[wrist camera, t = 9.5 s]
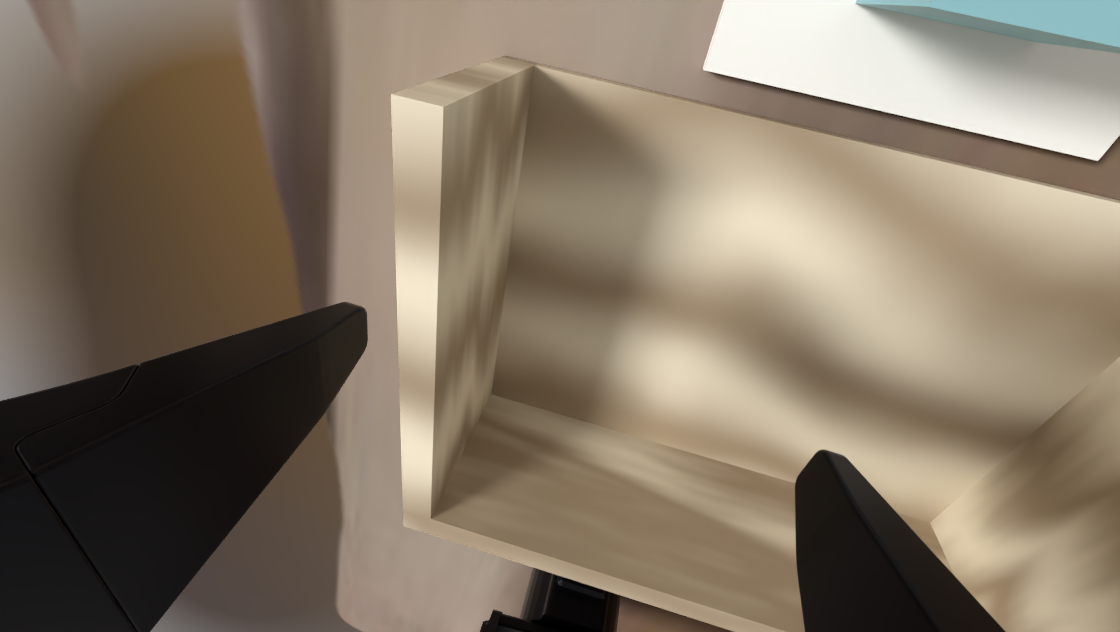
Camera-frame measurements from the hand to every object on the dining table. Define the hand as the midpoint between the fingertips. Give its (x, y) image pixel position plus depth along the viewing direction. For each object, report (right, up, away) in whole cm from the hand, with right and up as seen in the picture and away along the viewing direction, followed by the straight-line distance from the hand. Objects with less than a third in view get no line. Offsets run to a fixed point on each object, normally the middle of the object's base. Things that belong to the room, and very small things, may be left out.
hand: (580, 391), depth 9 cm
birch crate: (+8, +1, +11) cm, 14 cm away
